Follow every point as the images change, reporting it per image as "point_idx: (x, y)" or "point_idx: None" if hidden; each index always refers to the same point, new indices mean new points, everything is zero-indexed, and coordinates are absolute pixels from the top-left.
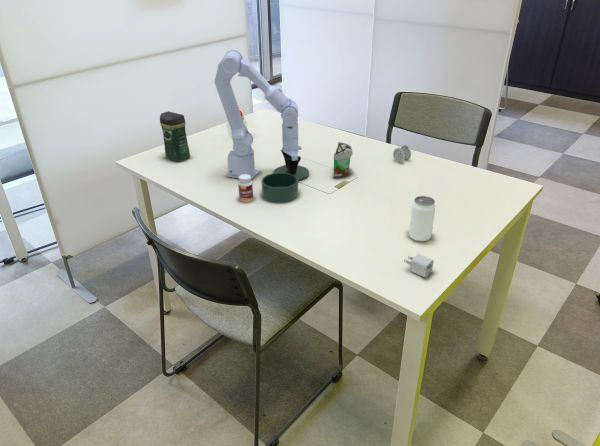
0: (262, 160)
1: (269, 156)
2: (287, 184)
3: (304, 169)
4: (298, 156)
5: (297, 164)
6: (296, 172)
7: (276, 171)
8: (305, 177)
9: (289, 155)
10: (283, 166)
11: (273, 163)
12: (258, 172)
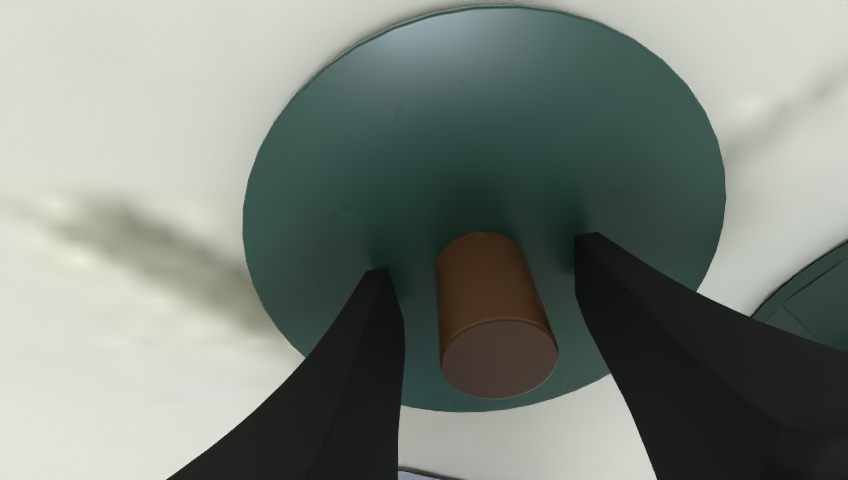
0: (146, 457)
1: (29, 420)
2: (836, 313)
3: (406, 85)
4: (829, 474)
5: (752, 326)
6: (504, 208)
7: (446, 394)
8: (673, 76)
9: (373, 475)
10: (312, 341)
11: (189, 392)
12: (416, 476)
